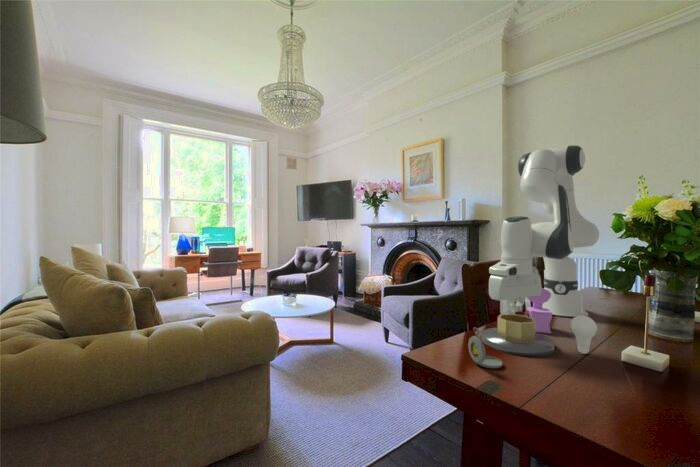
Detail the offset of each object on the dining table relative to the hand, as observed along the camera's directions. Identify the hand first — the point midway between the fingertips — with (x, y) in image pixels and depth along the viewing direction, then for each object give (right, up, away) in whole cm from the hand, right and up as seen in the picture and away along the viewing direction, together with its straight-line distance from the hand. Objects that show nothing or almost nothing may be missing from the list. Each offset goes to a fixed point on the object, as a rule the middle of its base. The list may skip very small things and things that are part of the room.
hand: (516, 311), depth 96 cm
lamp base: (0, -10, 0) cm, 10 cm away
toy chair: (+16, -10, +14) cm, 23 cm away
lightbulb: (+15, -10, -8) cm, 20 cm away
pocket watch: (-17, -10, -15) cm, 25 cm away
